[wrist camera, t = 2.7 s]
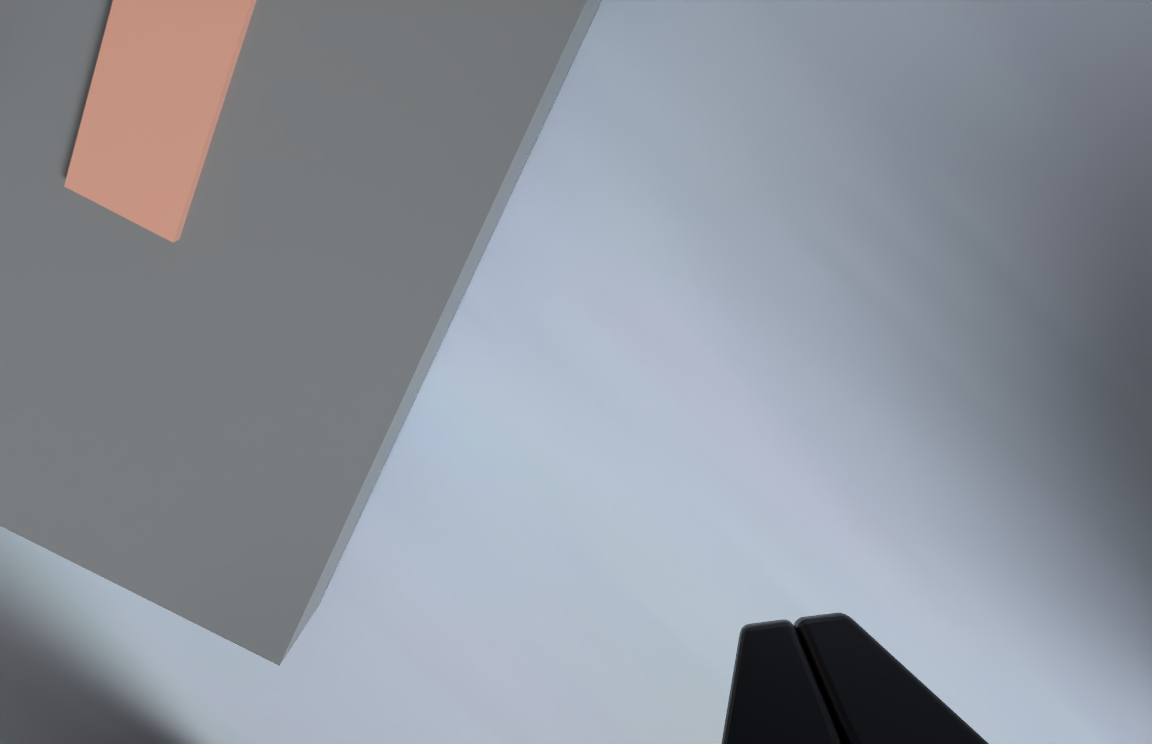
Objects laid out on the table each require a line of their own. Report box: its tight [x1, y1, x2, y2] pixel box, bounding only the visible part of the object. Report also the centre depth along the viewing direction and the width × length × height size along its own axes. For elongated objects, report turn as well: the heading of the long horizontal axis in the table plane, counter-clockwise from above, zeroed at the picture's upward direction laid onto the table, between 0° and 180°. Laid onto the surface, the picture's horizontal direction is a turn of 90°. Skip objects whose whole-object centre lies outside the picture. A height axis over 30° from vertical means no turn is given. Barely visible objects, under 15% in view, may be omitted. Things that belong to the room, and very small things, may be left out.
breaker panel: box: [0, 0, 602, 665], centre depth 17 cm, size 14×20×3 cm
